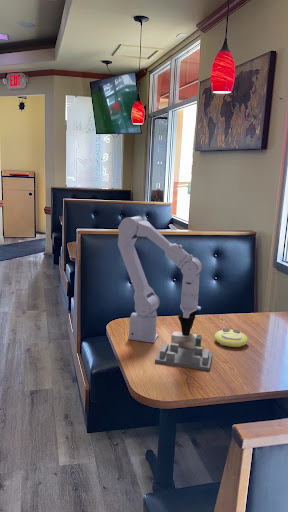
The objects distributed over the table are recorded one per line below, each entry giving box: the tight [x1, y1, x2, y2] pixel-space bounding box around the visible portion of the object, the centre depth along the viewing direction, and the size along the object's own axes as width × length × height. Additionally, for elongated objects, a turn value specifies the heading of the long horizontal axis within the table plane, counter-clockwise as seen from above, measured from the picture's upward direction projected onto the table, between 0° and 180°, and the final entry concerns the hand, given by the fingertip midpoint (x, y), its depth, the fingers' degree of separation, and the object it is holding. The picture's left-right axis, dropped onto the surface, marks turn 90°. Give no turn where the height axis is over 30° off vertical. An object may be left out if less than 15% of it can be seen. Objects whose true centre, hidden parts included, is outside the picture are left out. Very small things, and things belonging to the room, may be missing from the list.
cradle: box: [154, 342, 213, 372], centre depth 136 cm, size 17×12×3 cm
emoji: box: [213, 328, 249, 348], centre depth 152 cm, size 4×12×12 cm
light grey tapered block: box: [170, 330, 202, 350], centre depth 147 cm, size 10×4×4 cm, turn 76°
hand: (187, 331), depth 146 cm, fingers open, 7 cm apart
